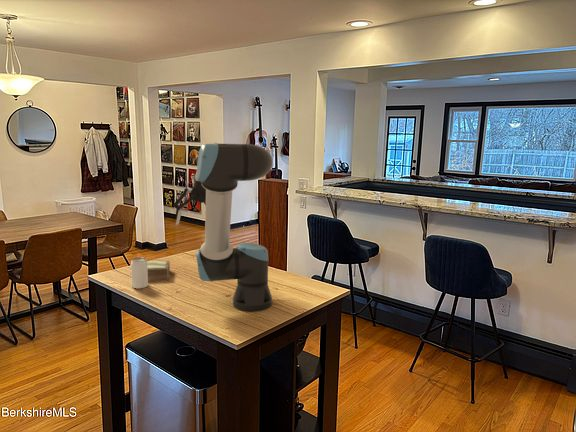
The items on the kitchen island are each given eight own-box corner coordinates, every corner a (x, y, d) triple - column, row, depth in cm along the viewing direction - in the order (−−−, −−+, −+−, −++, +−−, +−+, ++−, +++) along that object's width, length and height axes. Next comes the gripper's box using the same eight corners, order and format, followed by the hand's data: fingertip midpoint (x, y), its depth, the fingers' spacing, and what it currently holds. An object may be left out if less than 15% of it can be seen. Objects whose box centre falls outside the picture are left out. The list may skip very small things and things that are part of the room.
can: (141, 290, 172) (140, 262, 170) (128, 287, 174) (127, 260, 172) (151, 285, 178) (150, 258, 176) (138, 283, 180) (137, 256, 178)
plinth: (167, 279, 185) (166, 268, 184) (141, 280, 182) (140, 269, 182) (169, 270, 197) (169, 259, 196) (145, 271, 195) (145, 260, 194)
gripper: (232, 187, 183) (221, 233, 185) (177, 173, 182) (166, 219, 184) (230, 189, 175) (218, 236, 178) (172, 173, 174) (161, 222, 177)
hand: (192, 228), depth 181 cm, fingers open, 13 cm apart
